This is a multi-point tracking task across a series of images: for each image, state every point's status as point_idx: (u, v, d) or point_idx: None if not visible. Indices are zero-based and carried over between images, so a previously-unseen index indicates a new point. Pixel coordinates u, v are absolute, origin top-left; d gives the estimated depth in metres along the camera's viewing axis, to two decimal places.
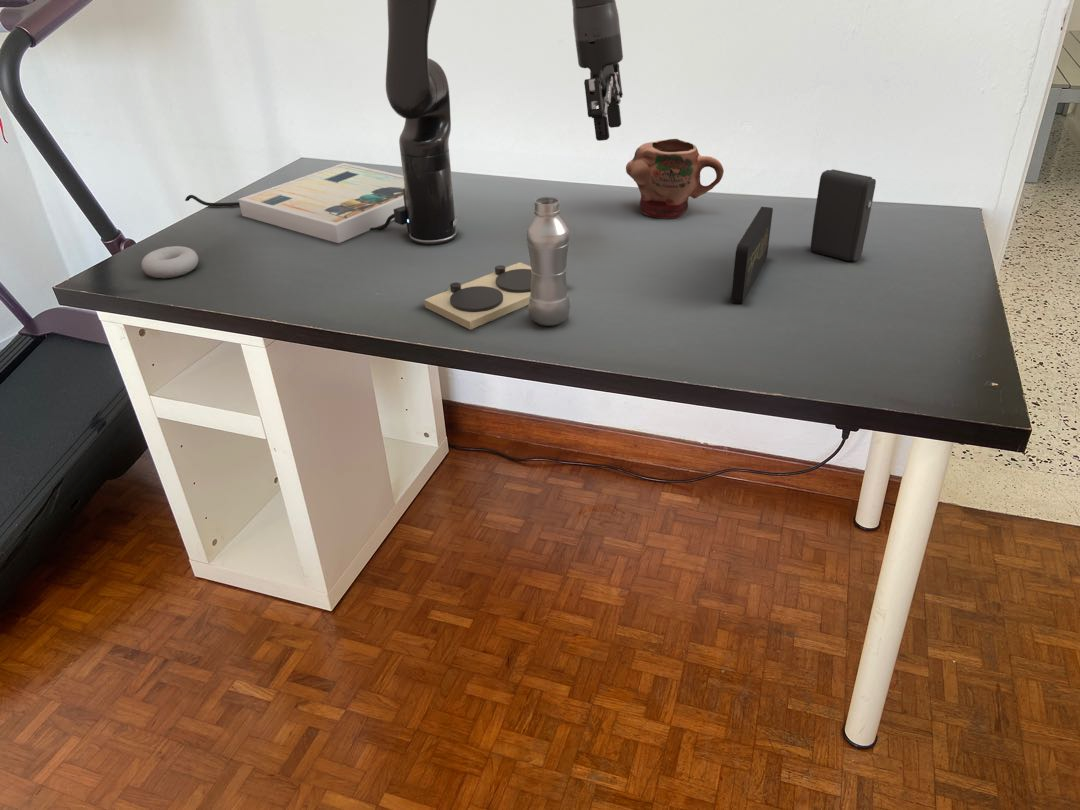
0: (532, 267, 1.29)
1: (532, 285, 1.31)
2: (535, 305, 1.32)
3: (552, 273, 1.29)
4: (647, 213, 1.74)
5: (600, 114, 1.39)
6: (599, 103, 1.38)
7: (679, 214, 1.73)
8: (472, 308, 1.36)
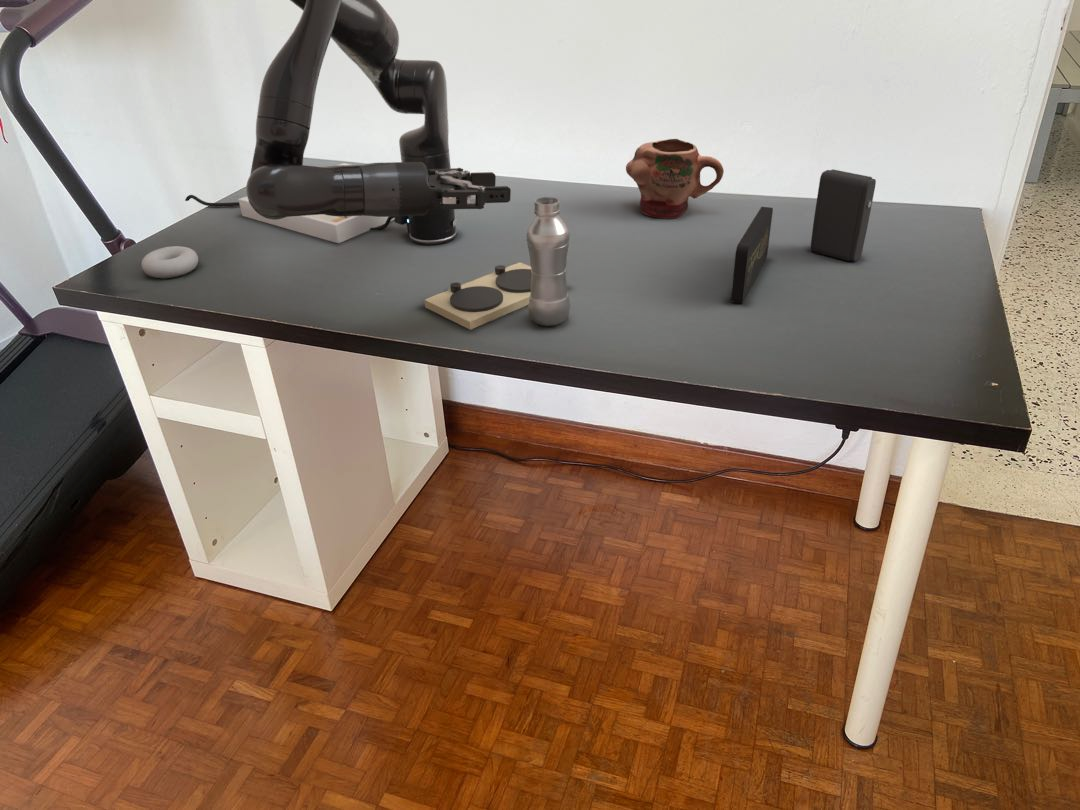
0: (532, 267, 1.29)
1: (532, 285, 1.31)
2: (535, 305, 1.32)
3: (552, 273, 1.29)
4: (647, 213, 1.74)
5: None
6: None
7: (679, 214, 1.73)
8: (472, 308, 1.36)
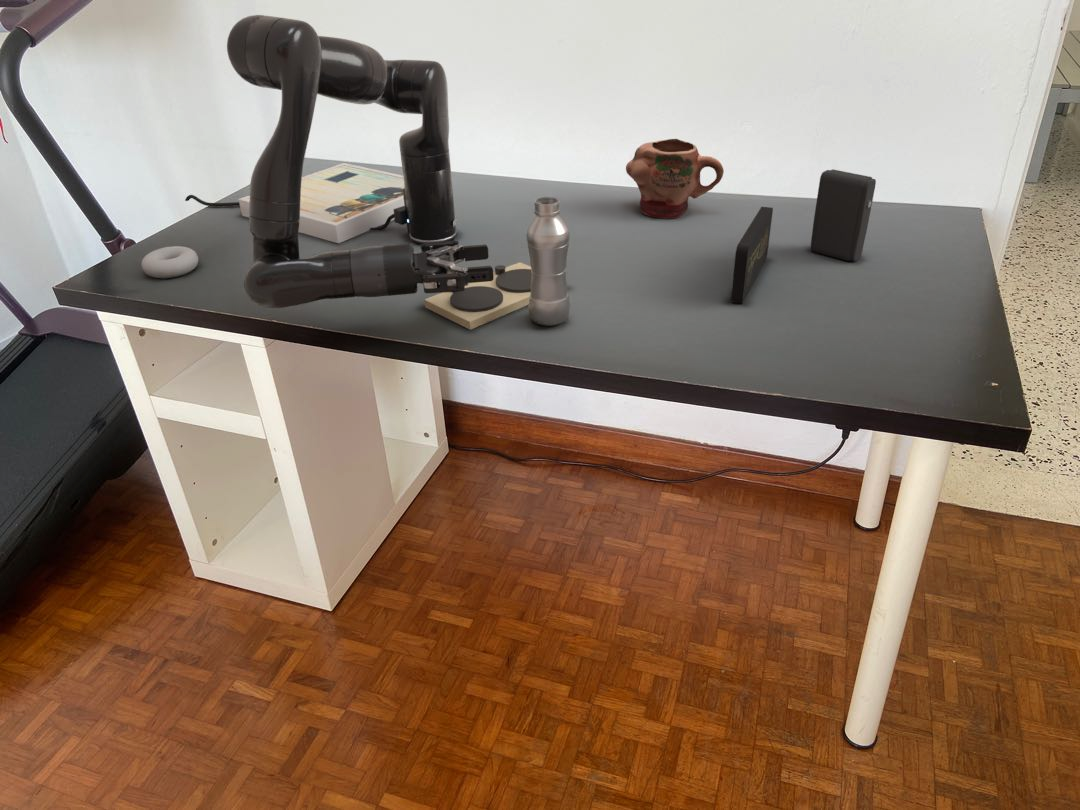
0: (532, 267, 1.29)
1: (532, 285, 1.31)
2: (535, 305, 1.32)
3: (552, 273, 1.29)
4: (647, 213, 1.74)
5: None
6: None
7: (679, 214, 1.73)
8: (472, 308, 1.36)
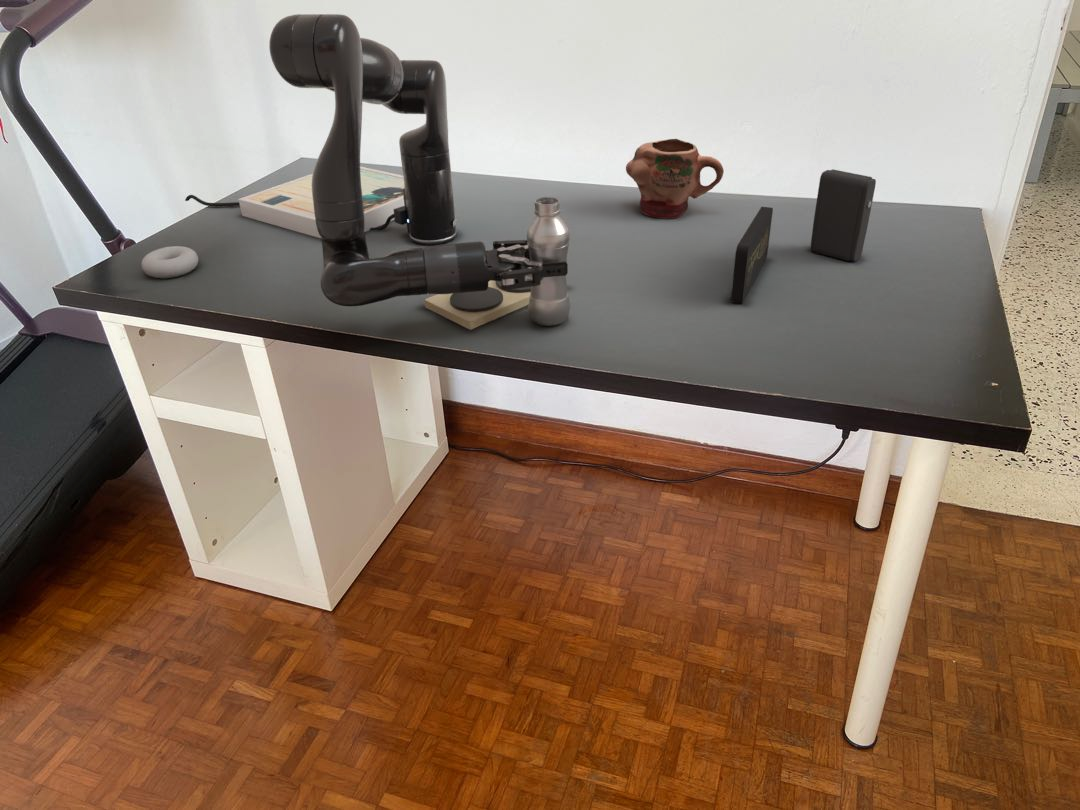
0: None
1: None
2: (535, 305, 1.32)
3: None
4: (647, 213, 1.74)
5: None
6: (517, 253, 1.36)
7: (679, 214, 1.73)
8: (472, 308, 1.36)
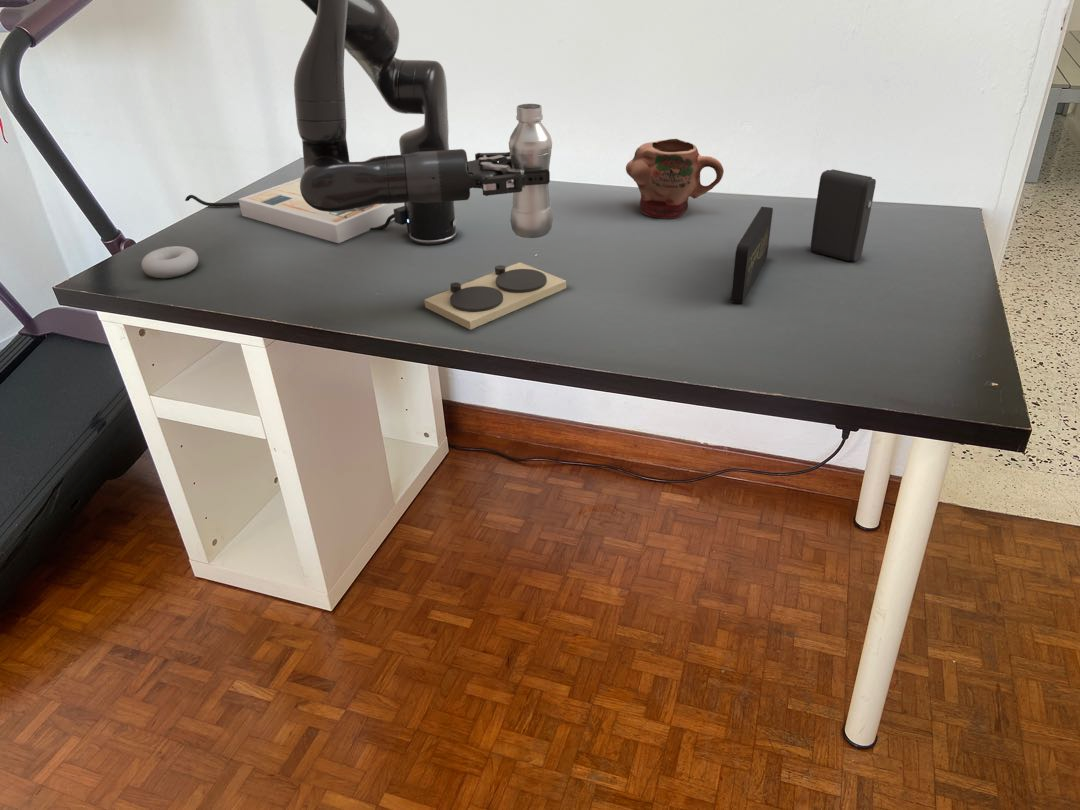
0: None
1: (514, 195, 1.30)
2: (517, 216, 1.31)
3: None
4: (647, 213, 1.74)
5: None
6: None
7: (679, 214, 1.73)
8: (472, 308, 1.36)
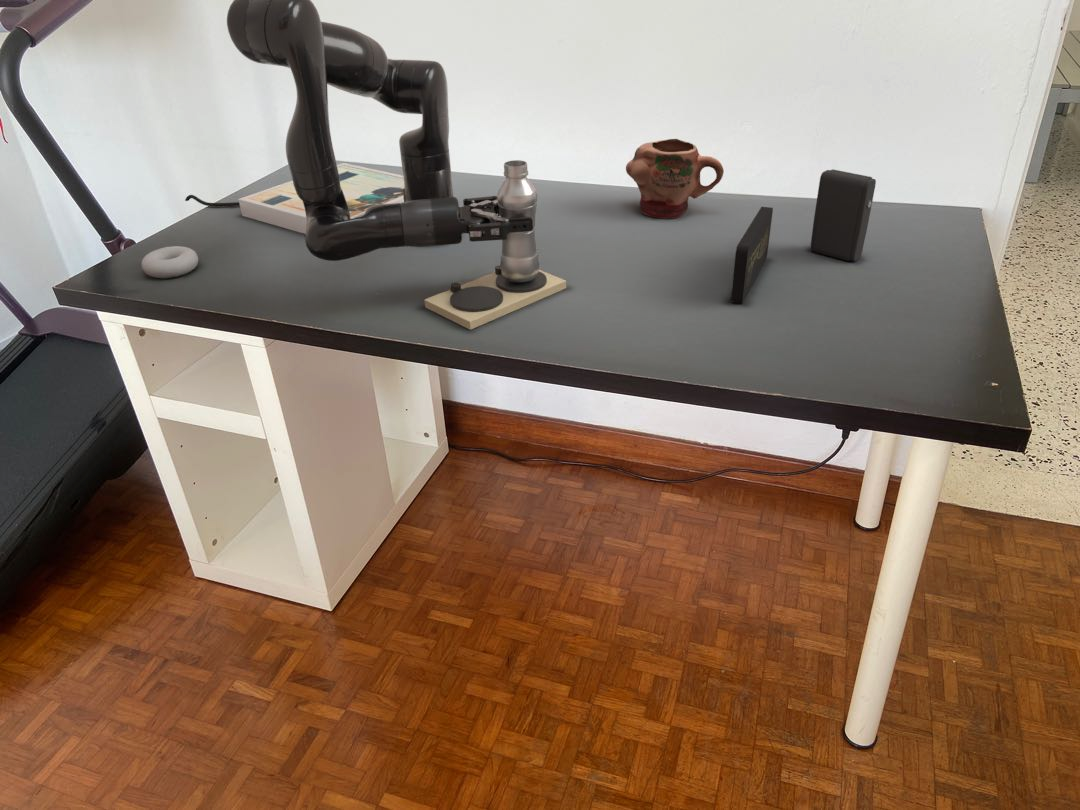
0: None
1: (503, 243, 1.40)
2: (506, 263, 1.41)
3: (521, 232, 1.38)
4: (647, 213, 1.74)
5: None
6: None
7: (679, 214, 1.73)
8: (472, 308, 1.36)
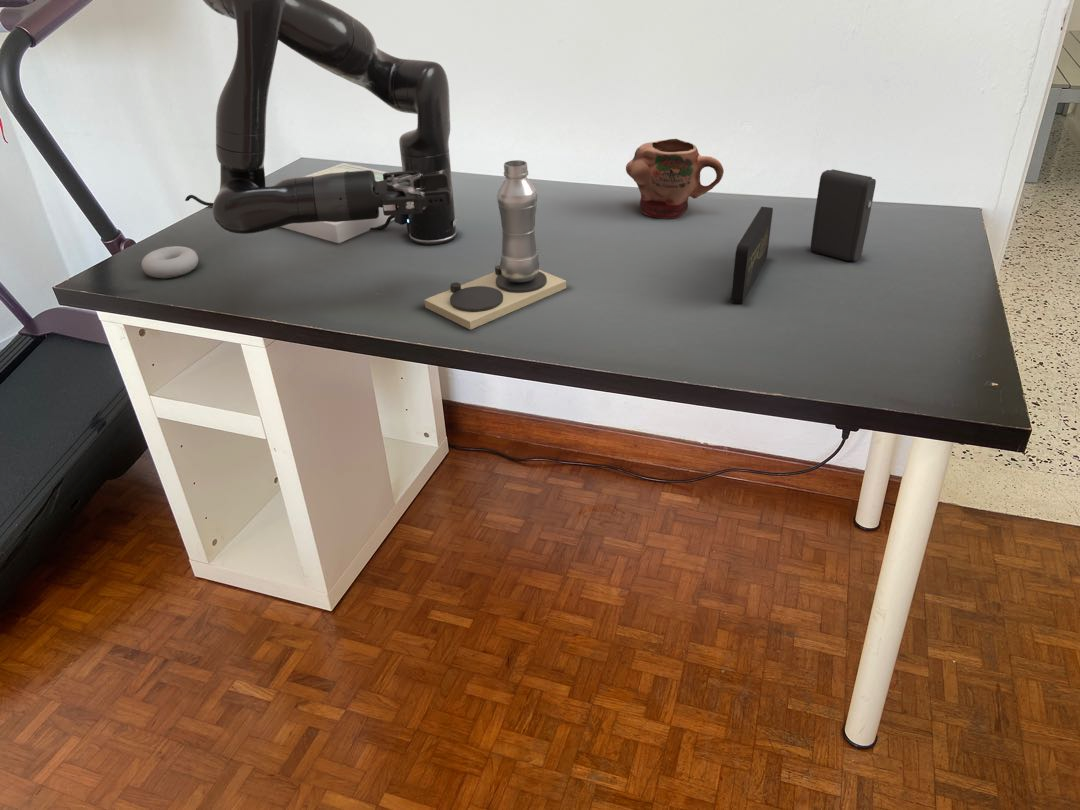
0: (503, 226, 1.39)
1: (503, 243, 1.40)
2: (506, 263, 1.41)
3: (521, 232, 1.38)
4: (647, 213, 1.74)
5: None
6: None
7: (679, 214, 1.73)
8: (472, 308, 1.36)
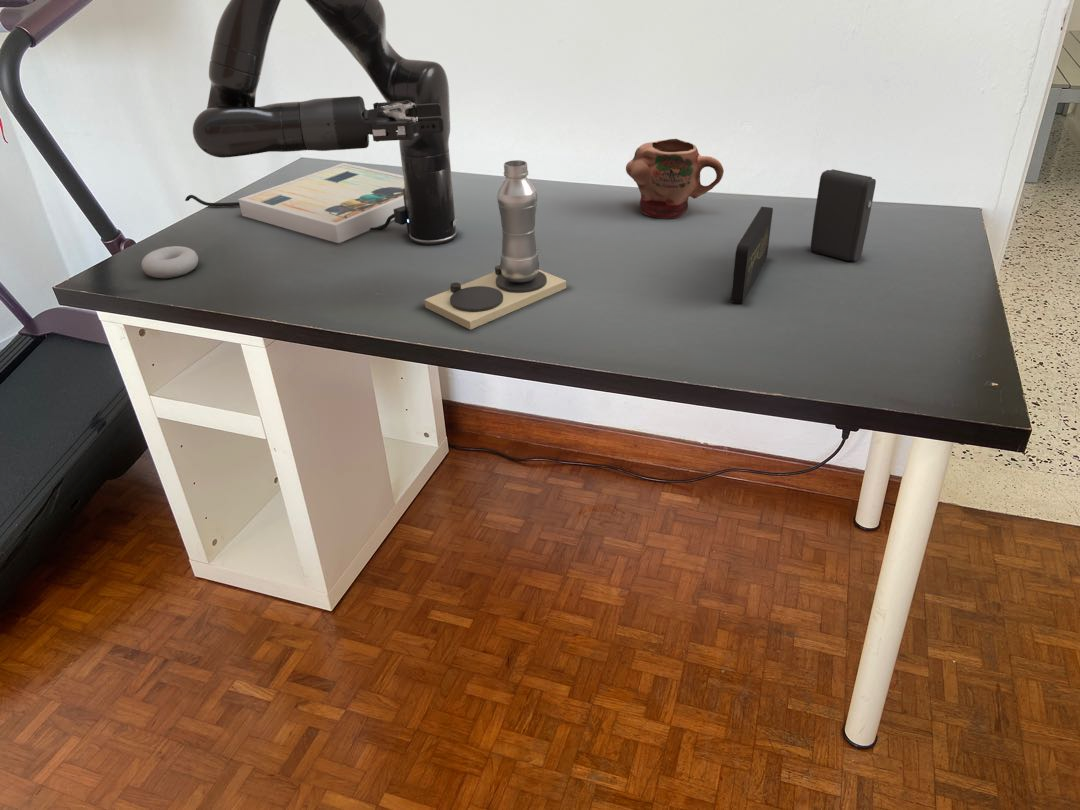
0: (503, 226, 1.39)
1: (503, 243, 1.40)
2: (506, 263, 1.41)
3: (521, 232, 1.38)
4: (647, 213, 1.74)
5: None
6: None
7: (679, 214, 1.73)
8: (472, 308, 1.36)
